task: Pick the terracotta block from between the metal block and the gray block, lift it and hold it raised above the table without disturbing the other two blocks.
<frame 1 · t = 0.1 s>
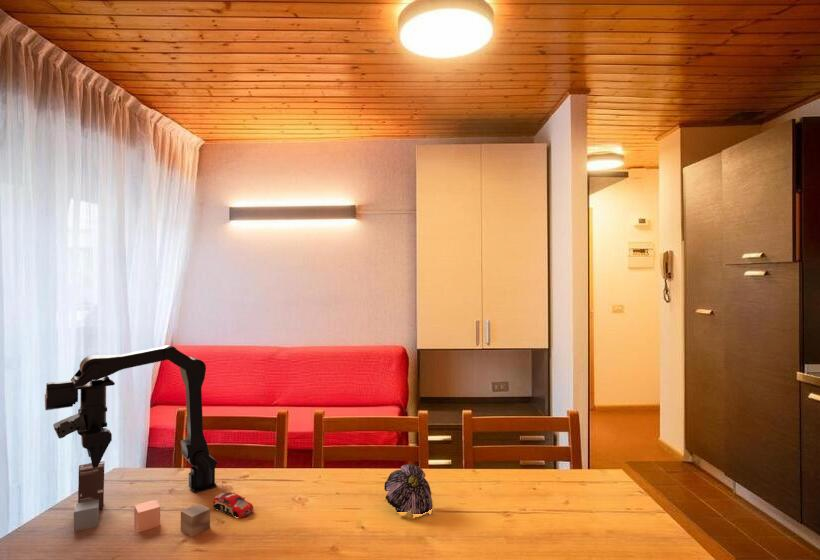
hand: (93, 461, 127), 15 cm above the table, tool pointing down, fingers open, 9 cm apart
box: (91, 509, 131), on the table
decorative flower: (410, 508, 134), on the table
terracotta block: (147, 525, 123), on the table
race car: (232, 511, 131), on the table
gray block: (86, 524, 123), on the table
metal block: (195, 529, 121), on the table
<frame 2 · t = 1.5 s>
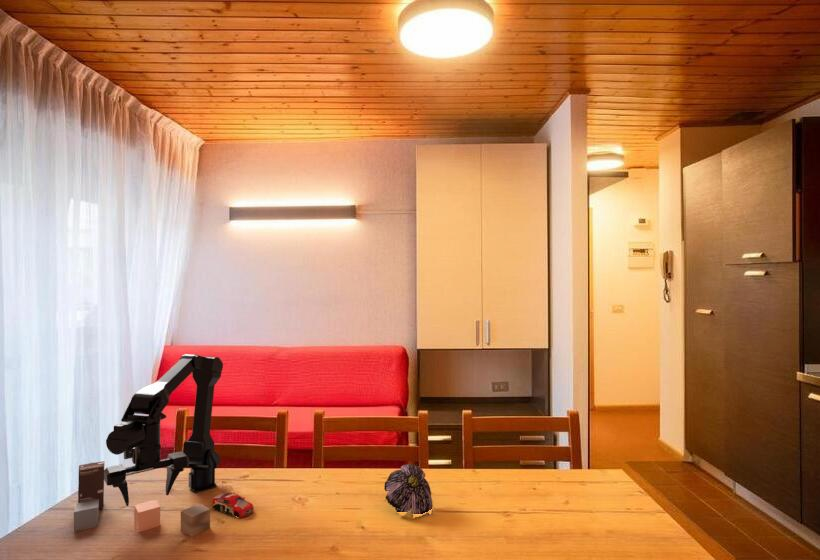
hand: (147, 500, 123), 6 cm above the table, tool pointing down, fingers open, 9 cm apart
nothing on the table moved.
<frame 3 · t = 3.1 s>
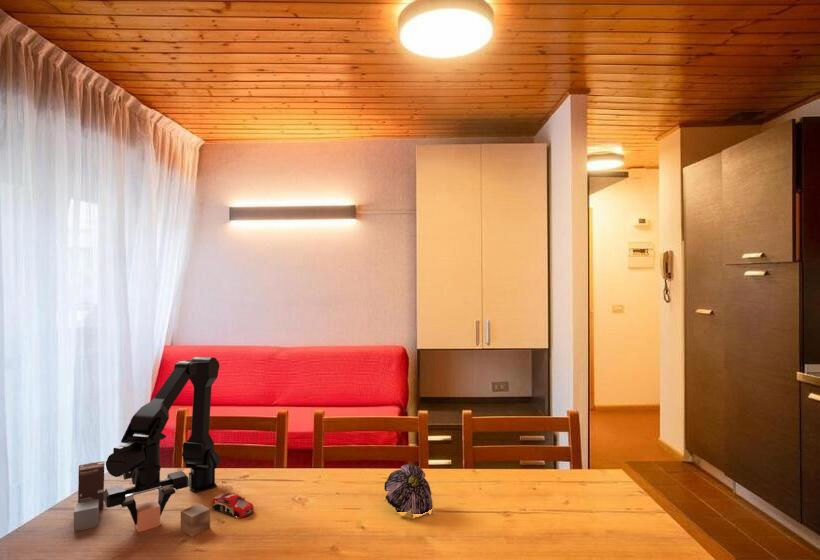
hand: (147, 520, 123), 1 cm above the table, tool pointing down, fingers closed on terracotta block, 5 cm apart
terracotta block: (147, 524, 123), on the table, touching gripper
everything else where it was.
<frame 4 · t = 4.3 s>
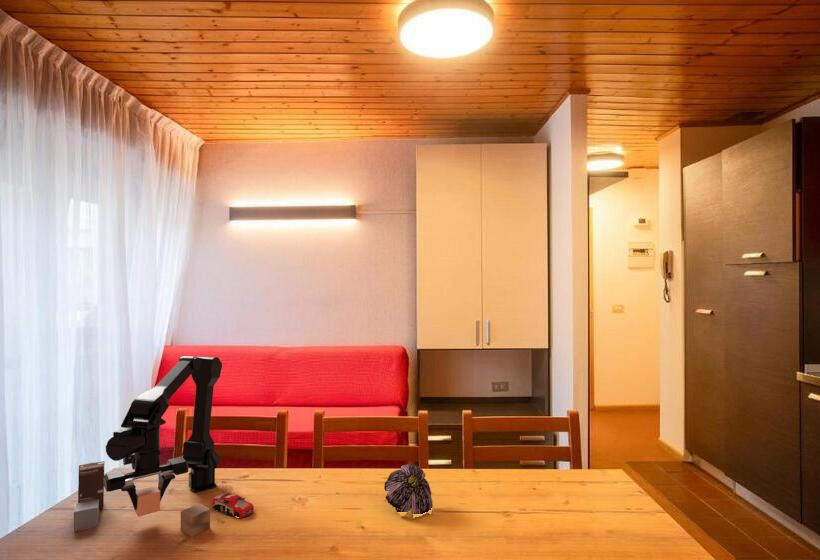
hand: (147, 505, 123), 5 cm above the table, tool pointing down, fingers closed on terracotta block, 5 cm apart
terracotta block: (147, 510, 123), point 4 cm above the table, touching gripper
everything else where it was.
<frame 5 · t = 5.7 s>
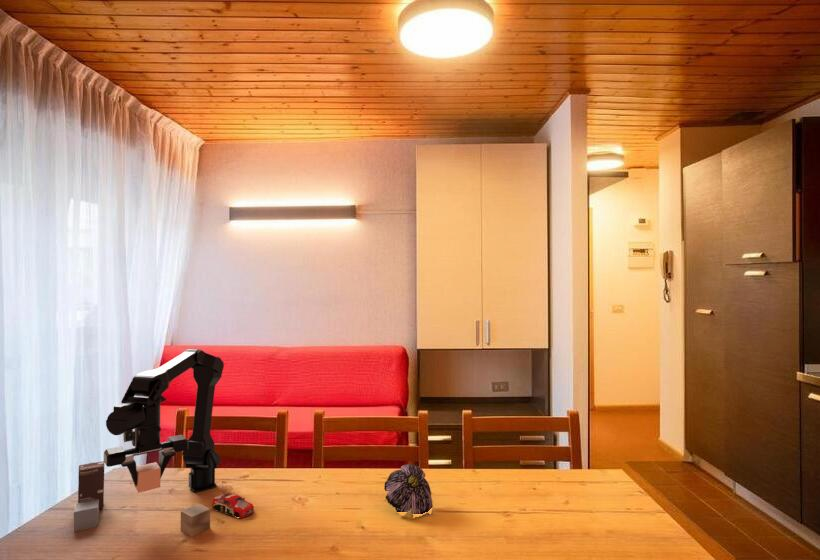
hand: (147, 482, 123), 11 cm above the table, tool pointing down, fingers closed on terracotta block, 5 cm apart
terracotta block: (147, 486, 123), point 10 cm above the table, touching gripper
everything else where it was.
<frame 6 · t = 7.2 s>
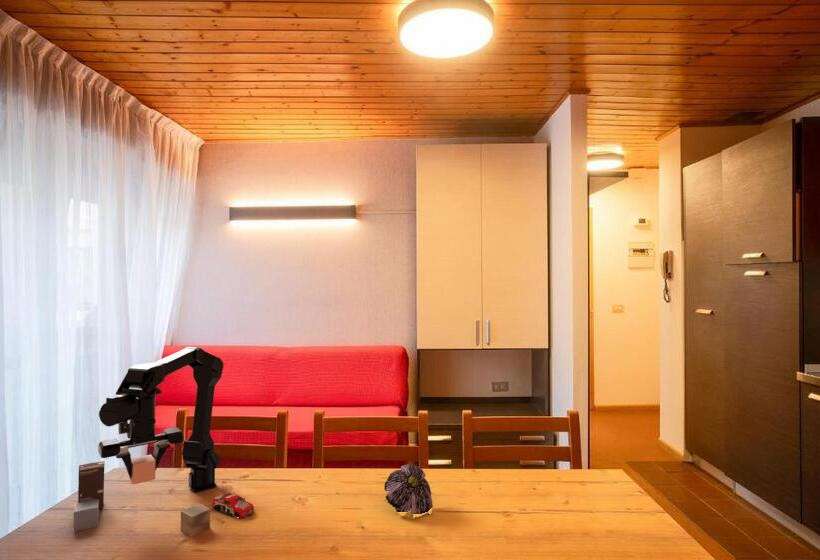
hand: (142, 474, 123), 13 cm above the table, tool pointing down, fingers closed on terracotta block, 5 cm apart
terracotta block: (142, 478, 123), point 12 cm above the table, touching gripper
everything else where it was.
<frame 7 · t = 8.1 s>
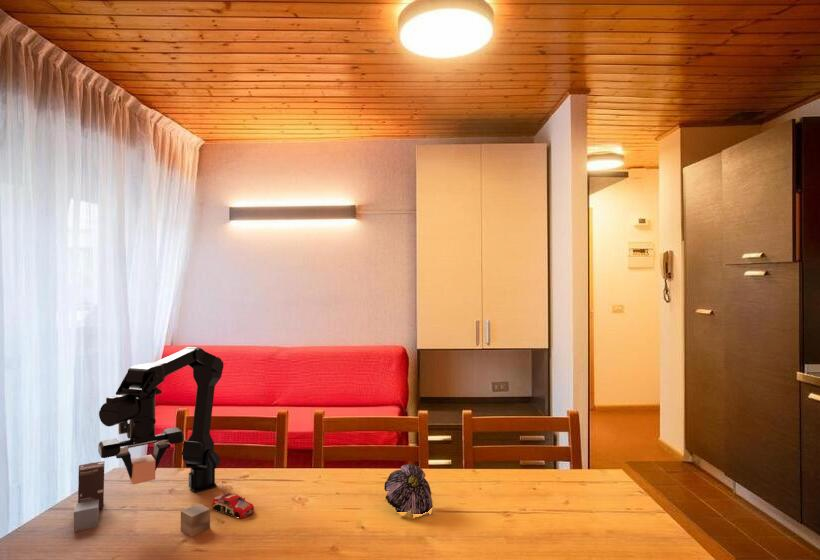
hand: (142, 474, 123), 13 cm above the table, tool pointing down, fingers closed on terracotta block, 5 cm apart
terracotta block: (142, 478, 123), point 12 cm above the table, touching gripper
everything else where it was.
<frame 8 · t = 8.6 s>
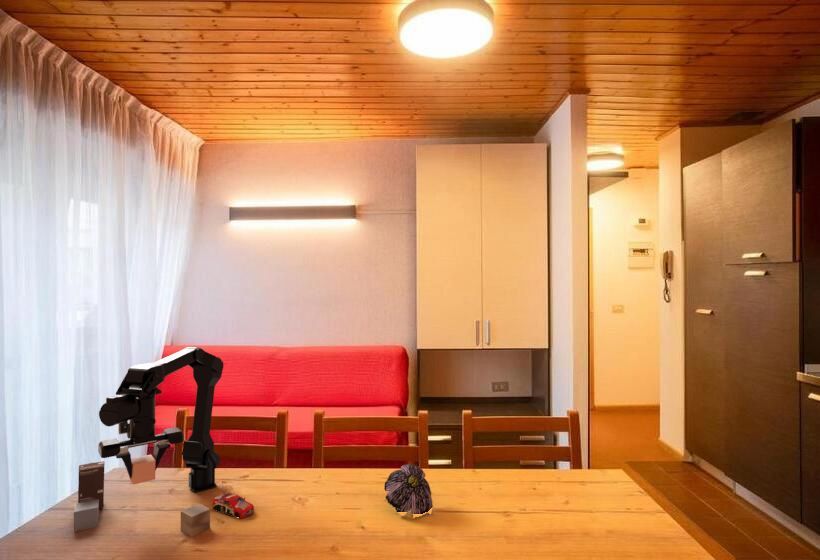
hand: (142, 474, 123), 13 cm above the table, tool pointing down, fingers closed on terracotta block, 5 cm apart
terracotta block: (142, 478, 123), point 12 cm above the table, touching gripper
everything else where it was.
at the end: the gripper is holding terracotta block; terracotta block point 11.9 cm above the table; metal block moved 0.1 cm from its start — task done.
